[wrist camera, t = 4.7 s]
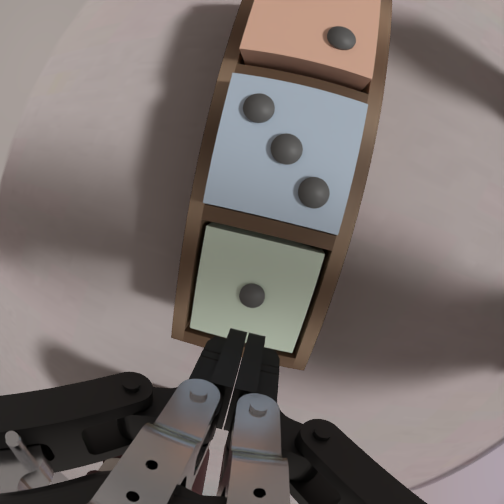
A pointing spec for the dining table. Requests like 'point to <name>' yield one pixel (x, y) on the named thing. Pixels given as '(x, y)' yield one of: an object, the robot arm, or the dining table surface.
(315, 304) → the dice tray set
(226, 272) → the button one
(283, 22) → the button two
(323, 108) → the button three
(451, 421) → the dining table surface
